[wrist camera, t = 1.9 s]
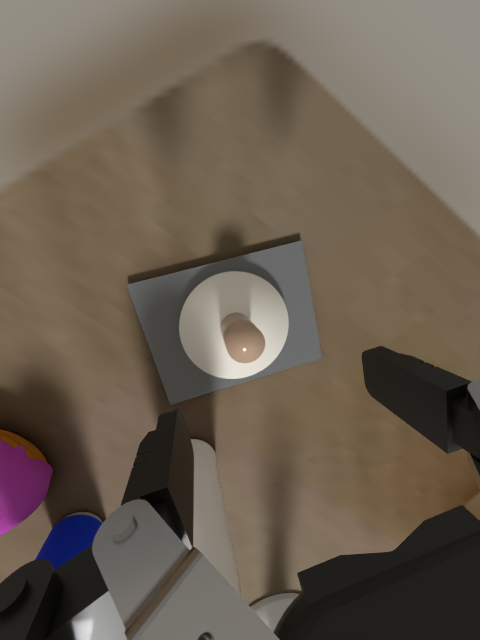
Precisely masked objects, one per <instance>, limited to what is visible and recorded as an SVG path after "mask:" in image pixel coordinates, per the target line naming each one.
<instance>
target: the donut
mask: <svg viewBox="0 0 480 640" xmlns="http://www.w3.org/2000/svg"><path fill="white" fill-rule="evenodd" d="M52 473H53V470H52V467H51V466H50V465H49V464H48V463H47V460H46V458H45V457H44V455H43V454H42V453H41V452H40V451H39V449H38V448H37V447H35V446H34V445H33V444H32V443H30V442H29V441H27V440H26V439H24V438H23V437H21V436H19V435H16V434H14V433H12V432H9V431H5V430H1V429H0V535H2V534H4V533H6V532H8V531H9V530H11V529H12V528H14V527H15V526H17V525H18V524H20V523H21V522H22V521H23V520H25V519H26V518H27V517H28V516H30V515H31V514H32V513H33V512H34V511H35V510H36V509H37V508H38V506H39V505H40V504H41V502H42V501H43V500H44V498H45V496H46V494H47V491H48V488H49V484H50V479H51V476H52Z"/></svg>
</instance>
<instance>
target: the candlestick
mask: <svg viewBox="0 0 480 640" xmlns="http://www.w3.org/2000/svg"><path fill="white" fill-rule="evenodd" d="M298 595H299V594H298V593H282V594H277V595H273V596H270V597H267V598H265V599H263V600H261V601H259V602H257V603H255V604H254V605H252V606H251V608H252V609H253V611H254V612H255V613H256V614H257V615H258V616H259V617H260V618H261V619H262V620H263V622H264V623H265V624H266V625H267V626H268V627H269V628H270V629H271V630H272V632H274V630H275V628H276V626H277V623H278V622H279V620H280V618H281V617H282V615H283V613H284V612H285V610H286V609H287V608H288V606H289V605H290V604H291V603H292V601H293V600H294V599H295V598H296V597H297V596H298Z"/></svg>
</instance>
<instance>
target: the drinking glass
mask: <svg viewBox="0 0 480 640" xmlns="http://www.w3.org/2000/svg"><path fill="white" fill-rule="evenodd" d="M191 442H192V446H193V452H194V515H193V547H195V548H197V549H198V550H199V551H200V552H201V553H202V554H203V555H204V556H205V557H206V558H207V559H208V561H209V562H210V563H211V564H212V565H213V566H214V567H215V568H216V569H217V571H218V572H219V573H220V574H221V575H222V576H223V577H224V578H225V579H226V581H227V582H228V583H229V584H230V585H231V586H232V587H233V588H234V589H235V591H236V592H237V593H238V594H239V595H240V596H241V589H240V582H239V576H238V570H237V564H236V559H235V554H234V548H233V544H232V539H231V534H230V529H229V524H228V519H227V514H226V509H225V504H224V499H223V494H222V489H221V484H220V479H219V474H218V467H217V458H216V454H215V451H214V450H213V448H212V447H211V446H210V445H209V444H208V443H206V442H205V441H202V440H199V439H191ZM241 597H242V596H241Z"/></svg>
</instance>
